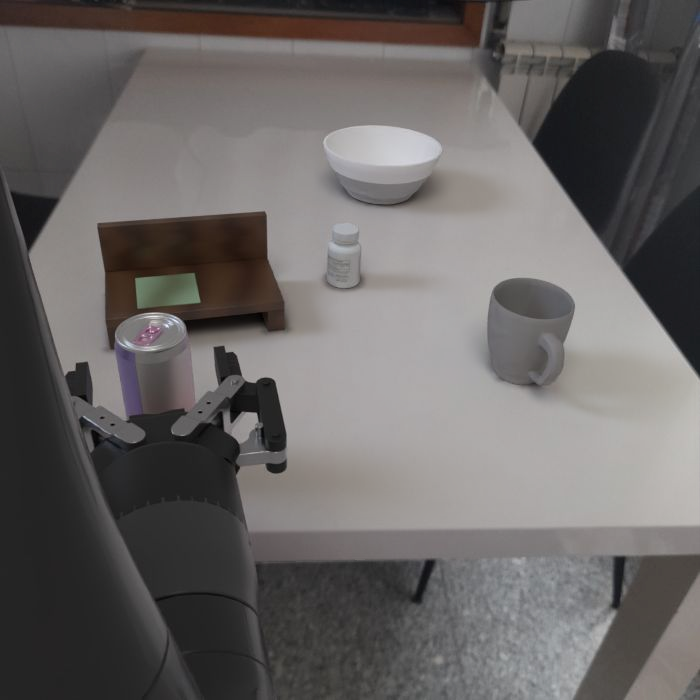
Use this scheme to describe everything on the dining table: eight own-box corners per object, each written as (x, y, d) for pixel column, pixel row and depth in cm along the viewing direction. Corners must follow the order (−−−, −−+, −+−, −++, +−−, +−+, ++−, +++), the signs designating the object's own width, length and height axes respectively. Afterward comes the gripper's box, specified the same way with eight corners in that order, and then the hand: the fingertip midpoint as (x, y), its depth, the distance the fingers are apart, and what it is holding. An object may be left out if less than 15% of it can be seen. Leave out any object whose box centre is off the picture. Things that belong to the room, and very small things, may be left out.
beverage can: (123, 480, 65) (98, 343, 56) (153, 437, 70) (134, 305, 61) (185, 494, 64) (168, 357, 55) (211, 449, 69) (200, 317, 60)
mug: (466, 351, 84) (479, 279, 78) (535, 344, 86) (553, 274, 80) (507, 417, 75) (524, 341, 69) (584, 408, 76) (607, 333, 71)
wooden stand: (110, 349, 81) (96, 271, 75) (109, 295, 90) (97, 222, 85) (284, 329, 86) (284, 255, 80) (266, 280, 95) (265, 210, 90)
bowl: (303, 179, 125) (303, 132, 120) (399, 165, 132) (403, 120, 128) (355, 224, 111) (358, 173, 106) (459, 205, 118) (466, 157, 114)
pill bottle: (345, 269, 99) (348, 218, 94) (366, 283, 96) (369, 230, 92) (320, 278, 96) (321, 226, 92) (340, 292, 94) (343, 239, 89)
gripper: (319, 480, 34) (259, 303, 46) (-11, 536, 30) (23, 329, 43) (316, 581, 38) (263, 394, 51) (28, 641, 34) (48, 424, 47)
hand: (153, 364), depth 47 cm, fingers open, 8 cm apart
